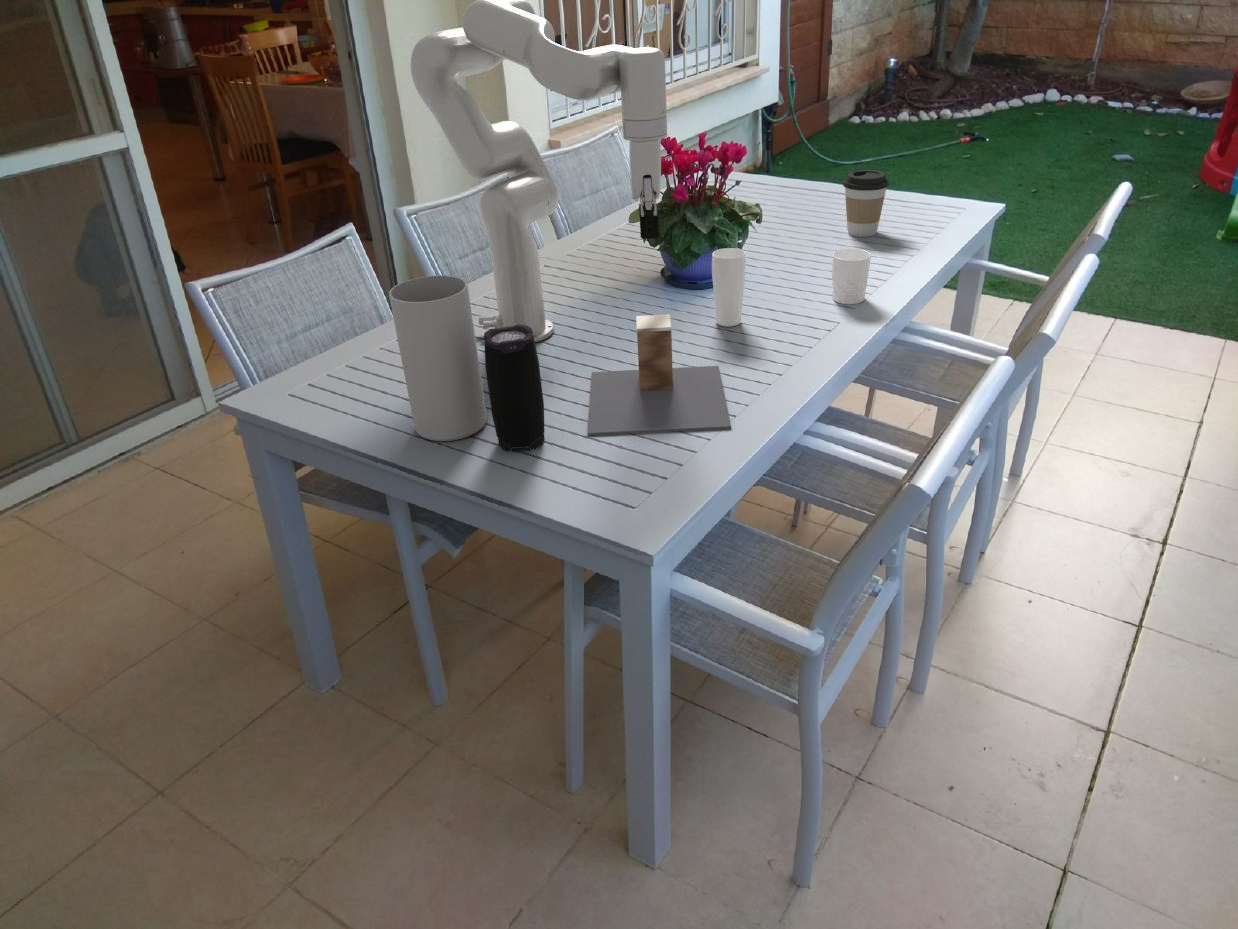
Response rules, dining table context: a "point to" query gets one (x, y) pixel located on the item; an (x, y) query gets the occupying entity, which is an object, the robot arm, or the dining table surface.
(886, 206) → the dining table surface
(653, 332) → the wooden box
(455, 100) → the robot arm
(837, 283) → the white cup
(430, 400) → the cylinder vase
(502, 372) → the portable speaker
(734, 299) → the drinking glass
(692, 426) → the rubber mat
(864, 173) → the coffee cup
